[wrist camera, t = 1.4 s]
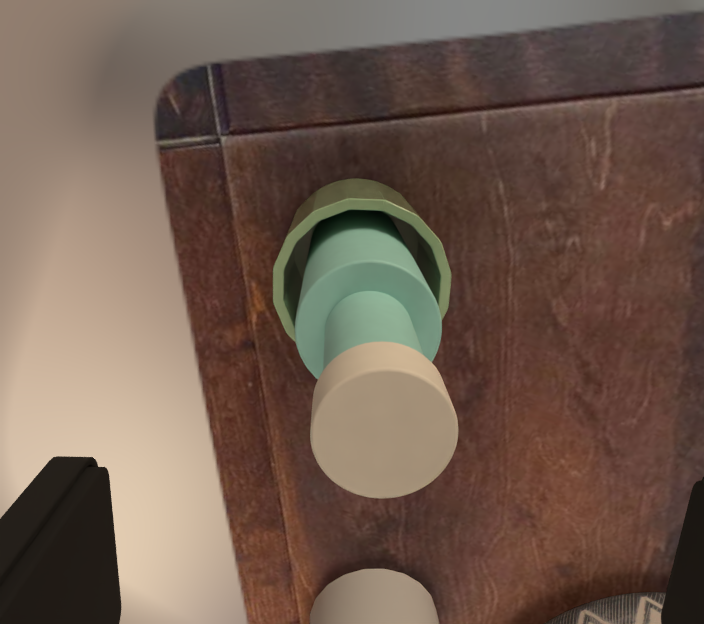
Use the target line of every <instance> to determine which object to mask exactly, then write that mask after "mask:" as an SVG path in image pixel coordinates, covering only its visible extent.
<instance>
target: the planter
mask: <svg viewBox="0 0 704 624" xmlns="http://www.w3.org/2000/svg"><path fill="white" fill-rule="evenodd" d="M665 595H666V593H665V592H640V593H629V594H621V595H616V596H611V597H606V598H603V599H599V600H595V601H592V602H589V603H586V604H583V605H580V606H578V607H575V608H573V609H571V610H568V611H566V612H564V613H562V614H560V615H558V616H556V617H554V618H553V619H551V620H549V621H548V622H546V623H544V624H661V611H662V607H663V603H664V599H665Z"/></svg>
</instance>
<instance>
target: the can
mask: <svg viewBox="0 0 704 624" xmlns="http://www.w3.org/2000/svg"><path fill="white" fill-rule="evenodd" d="M310 624H439V621H438V616H437V611H436V608H435V605H434V602H433V599H432V597H431V595H430V594H429V593H428V592H427V590H426V589H425V588H424V587H423V586H422V585H421V583H419V582H418V581H416V580H414V579H412V578H411V577H409V576H407V575H406V574H404V573H400V572H396V571H392V570H388V569H363V570H359V571H355V572H352V573H348V574H345V575H343V576H341V577H340V578H338V579H336V580H335V581H333V582H331V583H330V584H328V585H327V586H326V587H325V588H324V589H323V591H322V592H321V593H320V594H319V595H318V596H317V597H316V599H315V602H314V604H313V607H312V610H311V612H310Z"/></svg>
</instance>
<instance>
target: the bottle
mask: <svg viewBox="0 0 704 624" xmlns="http://www.w3.org/2000/svg"><path fill="white" fill-rule="evenodd" d="M441 334H442V321H441V314H440V310H439V306H438V304H437V301H436V299H435V297H434V295H433V293H432V291H431V290H430V288H429V286H428V284H427V282H426V280H425V279H424V277H423V275H422V273H421V271H420V269H419V267H418V266H417V264H416V262H415V260H414V258H413V256H412V255H411V253H410V251H409V249H408V247H407V245H406V243H405V242H404V240H403V238H402V236H401V234H400V232H399V231H398V229H397V227H396V225H395V224H394V223H393V221H392V220H391V219H390V218H389V217H388V216H387V215H386V214H384V213H383V212H382V211H374V210H347V211H344V212H342V213H339V214H336V215H334V216H331V217H328V218H326V219H323V220H321V221H320V222H319V224H318V225H317V226H316V228H315V230H314V232H313V235H312V237H311V242H310V247H309V252H308V257H307V262H306V267H305V273H304V278H303V283H302V288H301V293H300V299H299V304H298V309H297V314H296V319H295V339H296V344H297V348H298V351H299V354H300V356H301V358H302V360H303V362H304V364H305V365H306V367H307V368H308V370H309V371H310V372H311V373H312V374H313V375H314V376H315V377H316V378H317V379H318V381H317V383H316V386H315V390H314V394H313V403H312V416H311V429H310V439H311V446H312V450H313V453H314V456H315V458H316V460H317V462H318V464H319V466H320V467H321V469H322V470H323V471H324V473H325V474H326V475H327V476H328V477H329V478H330V479H331V480H332V481H334V482H335V483H336V484H337V485H339V486H340V487H342V488H344V489H345V490H348V491H350V492H352V493H354V494H358V495H361V496H365V497H370V498H393V497H399V496H403V495H407V494H410V493H412V492H415V491H417V490H419V489H421V488H423V487H425V486H426V485H428V484H429V483H431V482H432V481H433V480H434V479H435V478H437V477H438V476H439V475H440V474H441V472H442V471H443V470H444V469H445V467H446V466H447V465H448V463H449V461H450V459H451V457H452V455H453V453H454V451H455V448H456V444H457V439H458V421H457V416H456V412H455V410H454V407H453V405H452V402H451V400H450V397H449V395H448V392H447V390H446V387H445V385H444V382H443V380H442V378H441V375H440V374H439V372H438V370H437V369H436V367H435V366H434V365H433V364H432V361H433V359H434V357H435V355H436V353H437V351H438V347H439V344H440V340H441Z"/></svg>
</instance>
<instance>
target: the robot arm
mask: <svg viewBox="0 0 704 624" xmlns="http://www.w3.org/2000/svg"><path fill="white" fill-rule="evenodd" d="M120 615H121V597H120V586H119V576H118V565H117V555H116V544H115V533H114V523H113V512H112V502H111V491H110V480H109V474H108V470H107V468H105V467H98V465H97V462H96V460H95V459H94V458H93V457H53V458H52V459H51V460H50V461H49V462H48V463H47V464H46V466H45V467H44V468H43V469H42V470H41V472H40V473H39V474H38V475H37V476H36V477H35V479H34V480H33V481H32V482H31V483H30V485H29V486H28V487H27V488H26V489H25V490H24V491H23V493H22V494H21V495H20V496H19V497H18V499H17V500H16V501H15V502H14V503H13V504H12V506H11V507H10V508H9V509H8V511H7V512H6V513H5V514H4V515H3V516H2V517H1V519H0V624H119V621H120ZM661 624H704V477H703V479H702V481H698V482H696V483H695V484H694V486H693V489H692V492H691V496H690V500H689V504H688V508H687V512H686V516H685V520H684V524H683V528H682V532H681V536H680V540H679V544H678V547H677V551H676V555H675V559H674V563H673V567H672V571H671V575H670V579H669V583H668V587H667V591H666V595H665V599H664V603H663V607H662V611H661Z"/></svg>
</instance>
